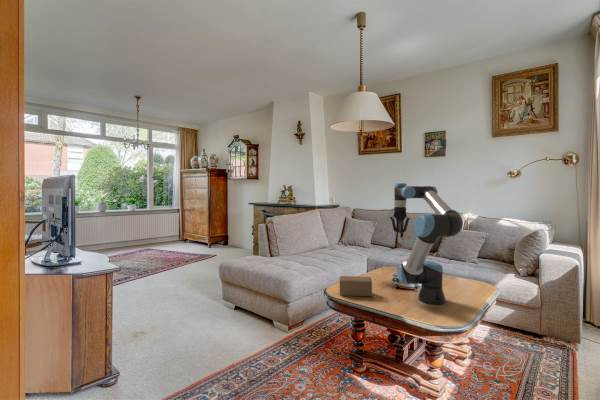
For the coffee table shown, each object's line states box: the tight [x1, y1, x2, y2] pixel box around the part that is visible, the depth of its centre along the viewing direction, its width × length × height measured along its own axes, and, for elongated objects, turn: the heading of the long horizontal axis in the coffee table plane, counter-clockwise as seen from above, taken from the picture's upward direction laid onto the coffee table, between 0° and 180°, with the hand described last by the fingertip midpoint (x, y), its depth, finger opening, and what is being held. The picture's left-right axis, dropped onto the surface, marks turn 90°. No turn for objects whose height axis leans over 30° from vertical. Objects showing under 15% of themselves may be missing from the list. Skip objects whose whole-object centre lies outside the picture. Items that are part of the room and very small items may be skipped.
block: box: [339, 275, 373, 297], centre depth 201 cm, size 10×10×20 cm
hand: (399, 242), depth 207 cm, fingers closed
